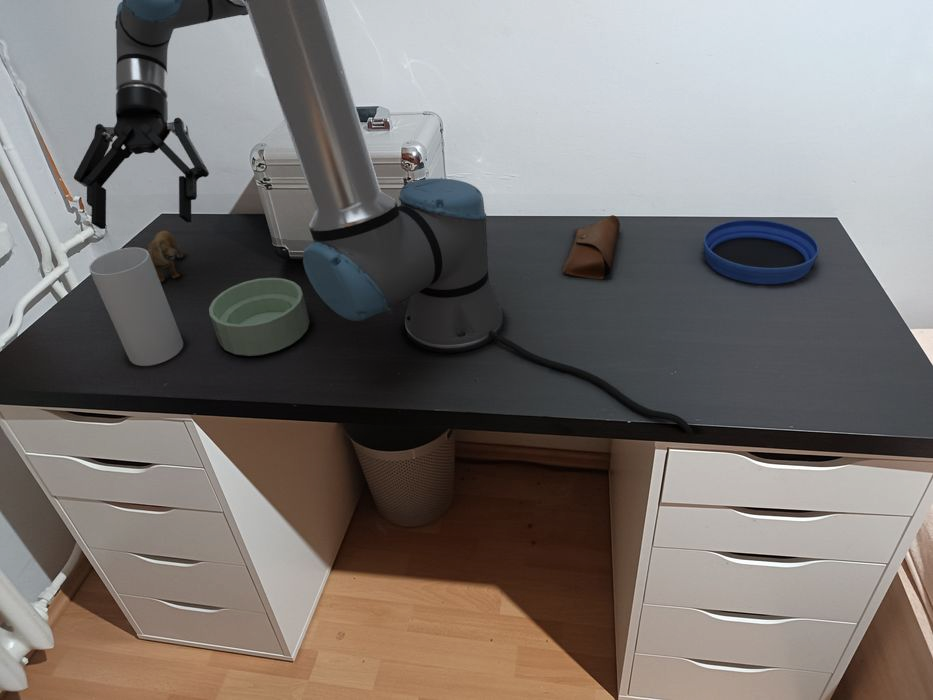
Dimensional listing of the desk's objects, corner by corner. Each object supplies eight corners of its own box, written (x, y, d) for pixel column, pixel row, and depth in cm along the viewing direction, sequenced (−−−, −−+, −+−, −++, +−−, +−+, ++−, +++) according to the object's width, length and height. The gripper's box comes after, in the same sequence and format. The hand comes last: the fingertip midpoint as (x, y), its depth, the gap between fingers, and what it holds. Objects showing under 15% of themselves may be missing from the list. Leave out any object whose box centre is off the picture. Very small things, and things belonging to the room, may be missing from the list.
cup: (193, 338, 110) (160, 249, 100) (162, 368, 103) (124, 276, 94) (150, 333, 112) (114, 245, 103) (117, 362, 106) (75, 272, 96)
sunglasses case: (574, 227, 131) (593, 200, 127) (605, 246, 132) (625, 219, 128) (560, 274, 117) (581, 245, 113) (595, 294, 118) (617, 266, 114)
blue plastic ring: (796, 236, 123) (801, 218, 121) (828, 287, 109) (834, 267, 107) (693, 237, 126) (696, 219, 124) (711, 288, 111) (714, 269, 109)
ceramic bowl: (328, 322, 111) (320, 290, 107) (262, 369, 102) (252, 336, 98) (267, 300, 118) (259, 270, 114) (201, 342, 108) (189, 311, 105)
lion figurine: (187, 284, 124) (171, 240, 119) (157, 291, 123) (139, 247, 118) (183, 251, 136) (169, 209, 130) (155, 257, 134) (139, 215, 129)
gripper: (227, 102, 113) (230, 224, 110) (78, 114, 113) (76, 236, 110) (210, 77, 106) (212, 207, 102) (50, 90, 106) (47, 220, 103)
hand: (142, 222), depth 106 cm, fingers open, 13 cm apart
